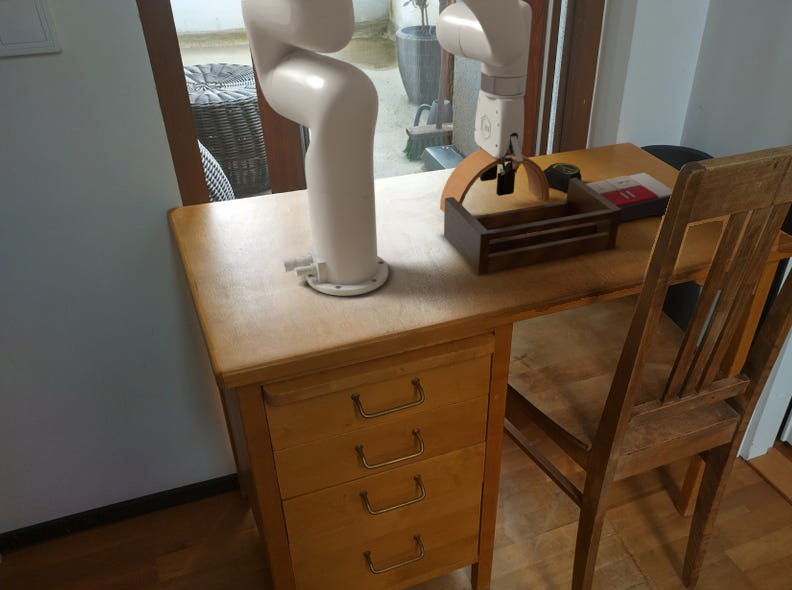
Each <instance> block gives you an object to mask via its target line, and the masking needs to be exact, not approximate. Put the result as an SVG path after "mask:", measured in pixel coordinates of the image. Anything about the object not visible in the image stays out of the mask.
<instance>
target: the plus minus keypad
mask: <svg viewBox="0 0 792 590" xmlns="http://www.w3.org/2000/svg"><path fill="white" fill-rule="evenodd" d="M585 184H586V185H588V186H589V187H590V188H592V189H593V190H595V191H596V192H597V193H599V194H600V195H602V196H603V197H605V198H606V199H607V200H609V201H610V202H612V203H613V204H614V205H616V206H617V207H619V208H620V209H621V216H620V221H619V223H623V222H627V221H632V220H636V219H640V218H645V217H649V216H654V215H656V216H659V217H663V216H666V215H665V212H666V208H667V205H668V202H669V199H670V196H671V193H672V190H673V189H671V188H669V187H668V186H667V185H665V184H664V183H662V182H660V181H659V180H657V179H656V178H654V177H652V176H651V175H649V174H648V173H646V172H640V173H636V174H631V175H621V176H617V177H612V178H607V179H606V180H598V181H593V182H588V183H585Z"/></svg>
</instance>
